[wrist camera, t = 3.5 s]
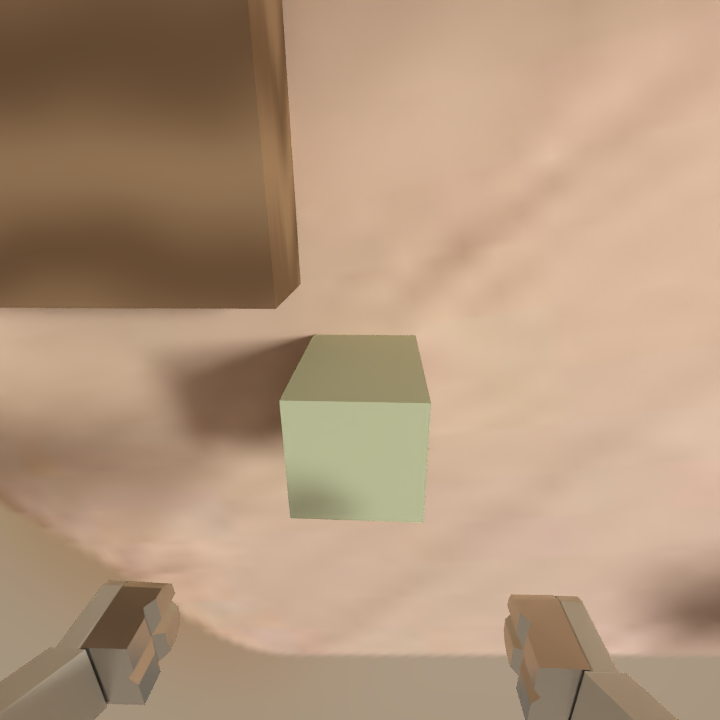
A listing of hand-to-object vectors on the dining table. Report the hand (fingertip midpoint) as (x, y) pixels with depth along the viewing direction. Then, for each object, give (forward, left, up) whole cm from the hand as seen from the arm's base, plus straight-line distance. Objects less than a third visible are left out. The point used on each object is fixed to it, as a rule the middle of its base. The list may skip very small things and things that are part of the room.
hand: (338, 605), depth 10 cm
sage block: (0, 0, -12) cm, 12 cm away
